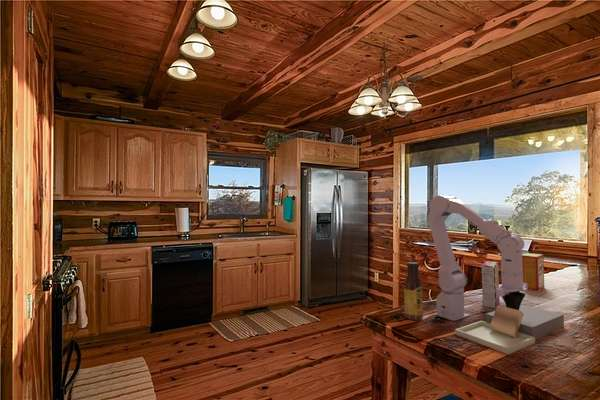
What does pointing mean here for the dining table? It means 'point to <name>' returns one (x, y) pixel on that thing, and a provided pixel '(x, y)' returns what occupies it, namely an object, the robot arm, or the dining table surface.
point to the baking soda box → (533, 271)
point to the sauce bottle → (413, 293)
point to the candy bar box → (490, 284)
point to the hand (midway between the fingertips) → (513, 315)
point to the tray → (494, 337)
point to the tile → (506, 321)
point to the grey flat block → (536, 321)
